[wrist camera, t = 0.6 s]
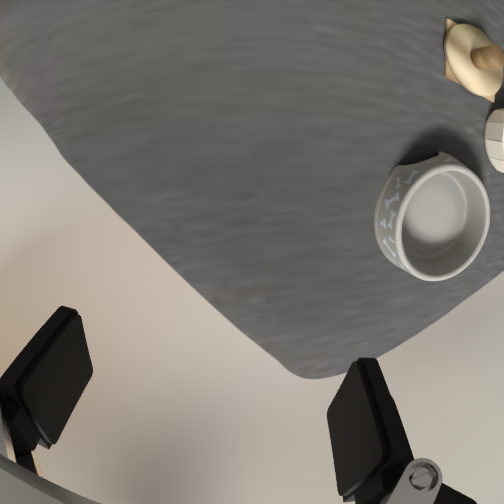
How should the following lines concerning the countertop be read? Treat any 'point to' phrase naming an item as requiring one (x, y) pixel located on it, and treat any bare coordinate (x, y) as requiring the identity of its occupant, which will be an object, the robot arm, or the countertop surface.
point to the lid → (474, 59)
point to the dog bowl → (432, 217)
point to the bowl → (495, 139)
